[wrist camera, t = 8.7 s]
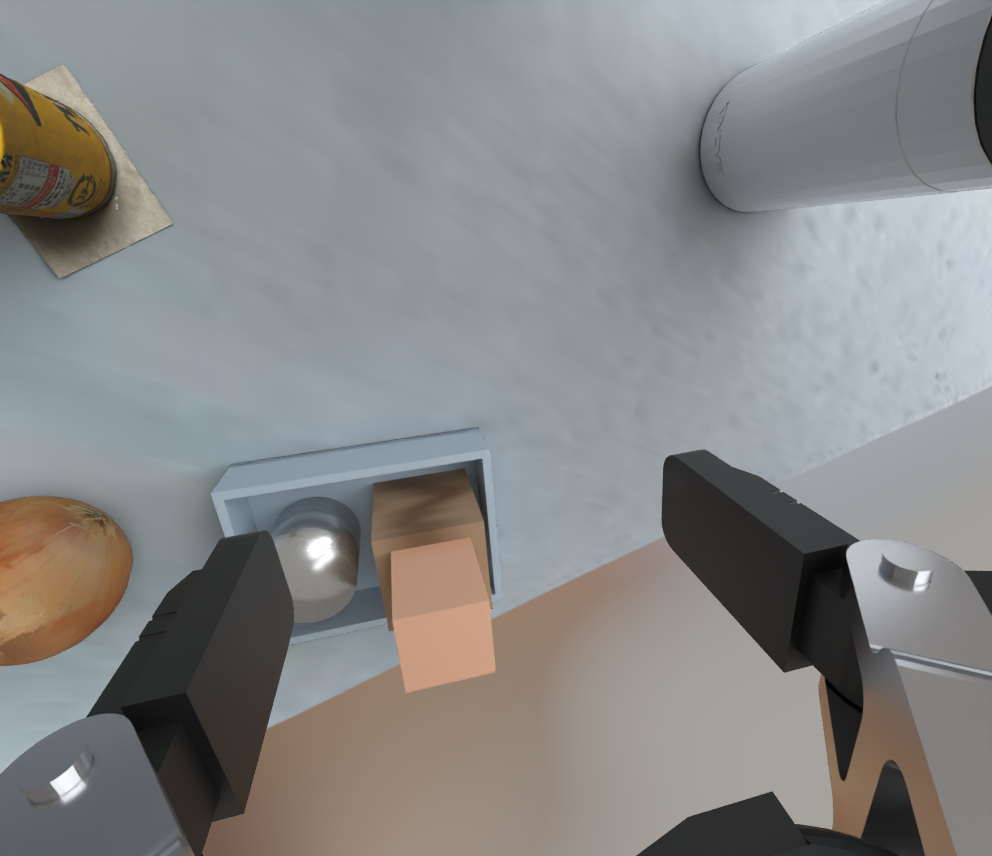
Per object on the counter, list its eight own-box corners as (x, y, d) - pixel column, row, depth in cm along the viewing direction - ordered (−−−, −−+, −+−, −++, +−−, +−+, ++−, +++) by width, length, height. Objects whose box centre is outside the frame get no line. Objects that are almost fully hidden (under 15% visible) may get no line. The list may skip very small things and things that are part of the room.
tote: (478, 427, 37) (490, 449, 33) (491, 564, 42) (503, 599, 38) (231, 464, 34) (210, 493, 30) (275, 608, 39) (262, 650, 35)
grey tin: (352, 489, 36) (346, 532, 31) (367, 559, 39) (364, 611, 33) (263, 504, 35) (240, 552, 30) (284, 576, 38) (266, 632, 32)
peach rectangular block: (470, 537, 31) (489, 600, 25) (477, 600, 32) (496, 672, 27) (390, 551, 30) (392, 620, 24) (402, 615, 31) (405, 693, 26)
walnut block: (464, 468, 38) (483, 521, 30) (472, 543, 40) (492, 608, 33) (373, 482, 36) (370, 541, 29) (388, 559, 39) (389, 631, 32)
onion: (-36, 555, 33) (-200, 674, 23) (35, 443, 31) (-110, 523, 22) (114, 611, 36) (23, 734, 27) (184, 513, 35) (113, 608, 26)
